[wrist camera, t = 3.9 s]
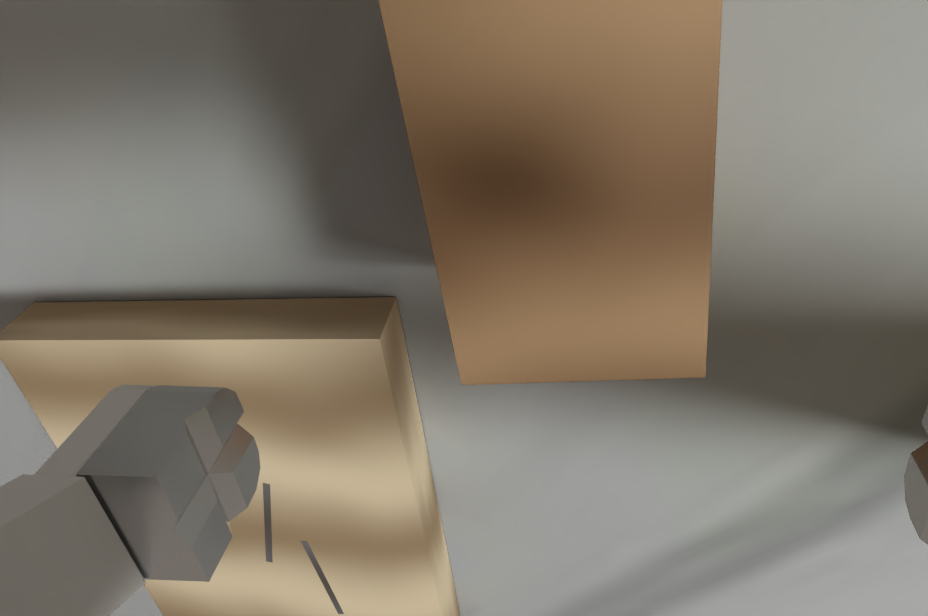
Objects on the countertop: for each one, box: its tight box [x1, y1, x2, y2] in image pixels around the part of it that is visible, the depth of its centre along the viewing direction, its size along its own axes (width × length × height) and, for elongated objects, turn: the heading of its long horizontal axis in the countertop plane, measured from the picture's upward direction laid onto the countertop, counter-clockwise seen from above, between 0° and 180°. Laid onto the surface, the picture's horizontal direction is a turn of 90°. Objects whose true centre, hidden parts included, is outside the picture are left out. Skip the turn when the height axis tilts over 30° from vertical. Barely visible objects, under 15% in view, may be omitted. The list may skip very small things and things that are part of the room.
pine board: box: [0, 297, 460, 616], centre depth 24 cm, size 16×12×2 cm
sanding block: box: [378, 0, 722, 385], centre depth 14 cm, size 8×5×5 cm, turn 9°
